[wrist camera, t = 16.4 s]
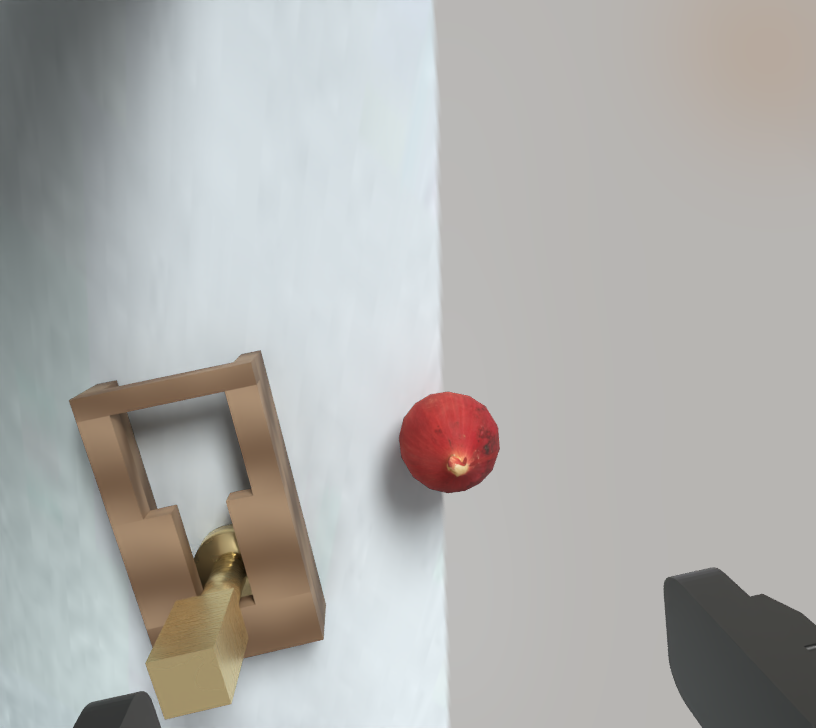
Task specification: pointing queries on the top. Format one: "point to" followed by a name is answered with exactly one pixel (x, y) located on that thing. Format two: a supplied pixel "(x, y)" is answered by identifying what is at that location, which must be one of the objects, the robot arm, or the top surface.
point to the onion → (449, 442)
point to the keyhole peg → (204, 633)
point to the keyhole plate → (249, 509)
